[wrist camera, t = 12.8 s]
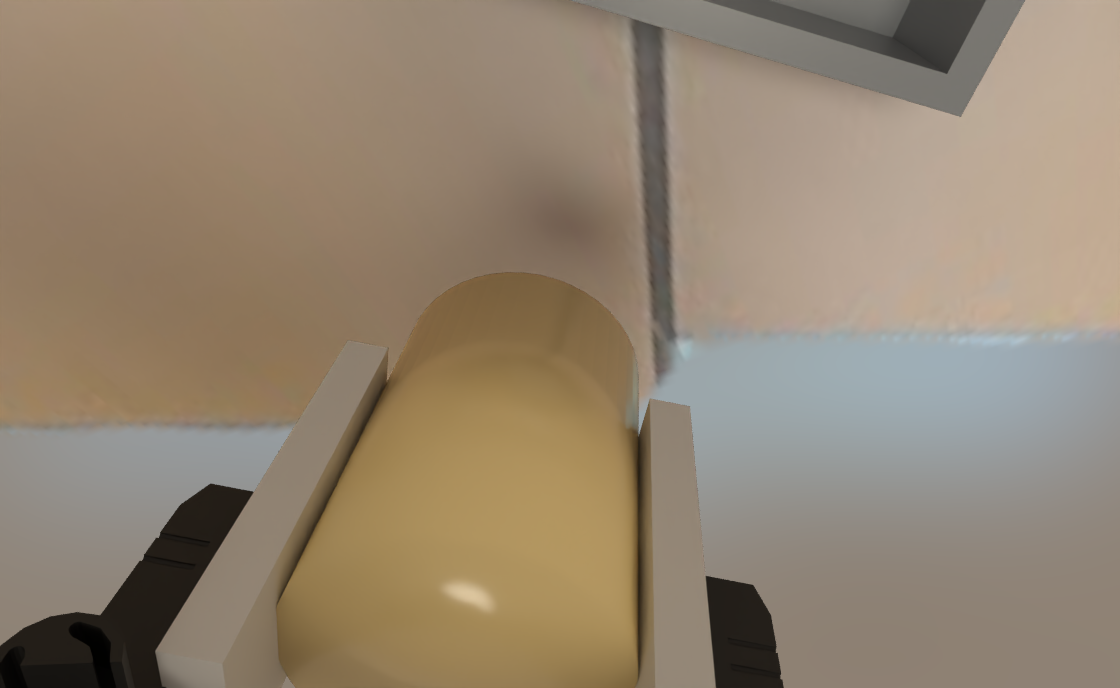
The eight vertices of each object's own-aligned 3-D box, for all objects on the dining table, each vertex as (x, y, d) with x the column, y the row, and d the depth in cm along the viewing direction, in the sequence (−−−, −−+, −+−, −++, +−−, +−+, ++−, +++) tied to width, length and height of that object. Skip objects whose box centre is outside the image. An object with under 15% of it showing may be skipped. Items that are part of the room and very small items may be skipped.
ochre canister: (400, 442, 17) (277, 734, 12) (415, 250, 15) (266, 502, 9) (611, 483, 18) (597, 793, 12) (664, 299, 15) (680, 582, 9)
